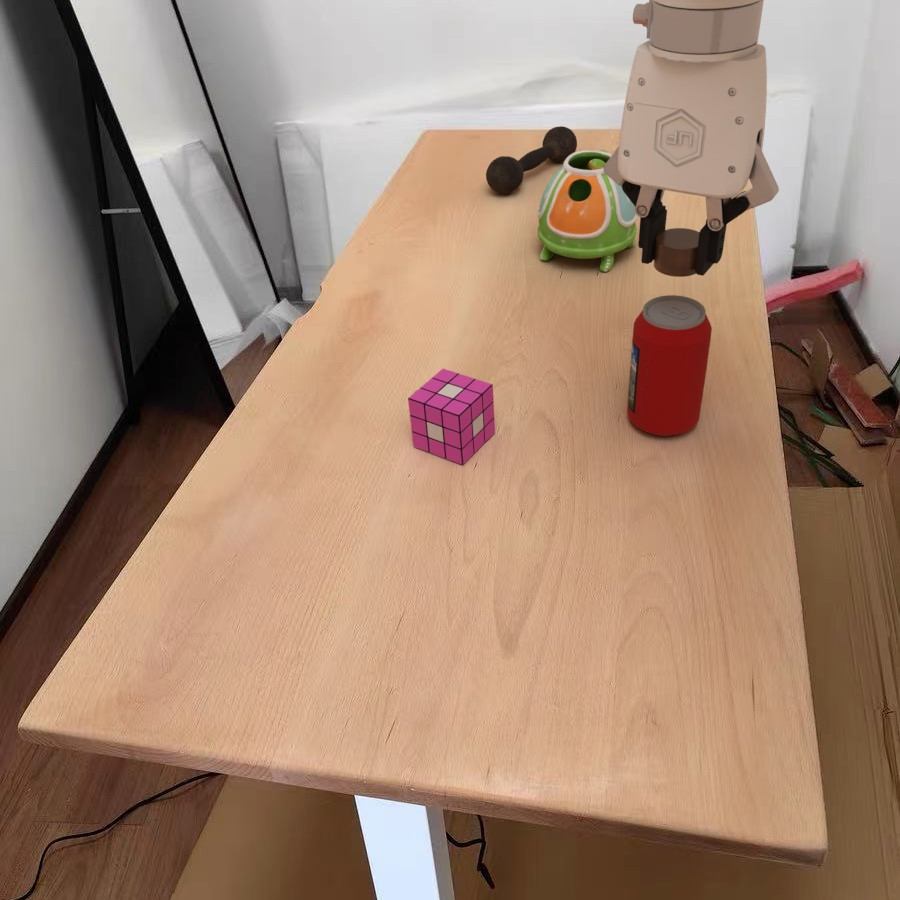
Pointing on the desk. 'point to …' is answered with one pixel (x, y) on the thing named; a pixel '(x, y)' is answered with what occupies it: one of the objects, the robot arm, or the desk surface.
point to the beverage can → (668, 365)
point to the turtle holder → (585, 211)
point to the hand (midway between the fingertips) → (678, 260)
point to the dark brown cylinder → (676, 252)
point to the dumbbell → (530, 160)
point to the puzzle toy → (452, 415)
